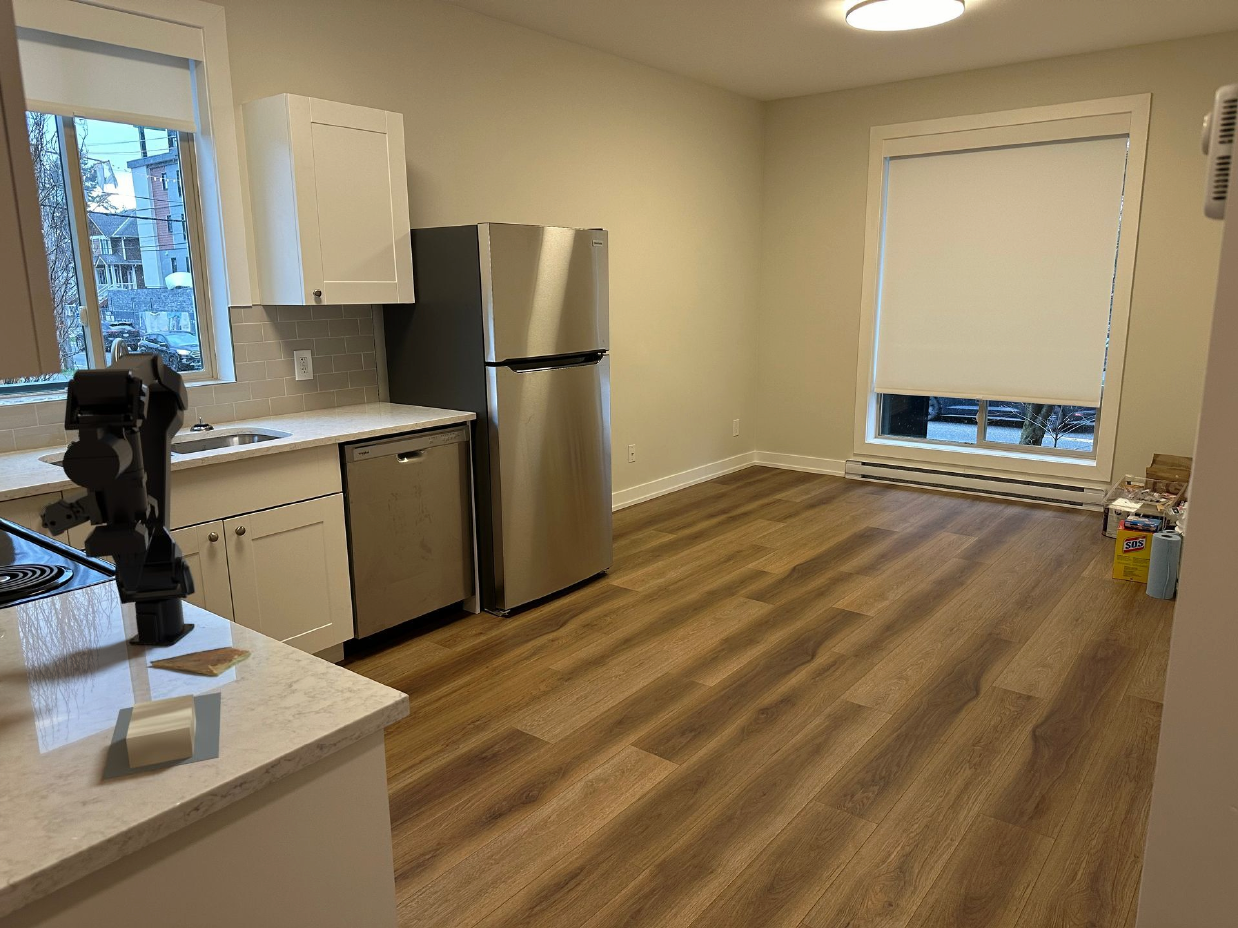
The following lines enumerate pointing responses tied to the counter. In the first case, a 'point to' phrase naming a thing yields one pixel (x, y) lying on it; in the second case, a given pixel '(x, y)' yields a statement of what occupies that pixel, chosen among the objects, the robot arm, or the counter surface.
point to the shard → (206, 660)
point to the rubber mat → (203, 750)
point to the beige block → (161, 731)
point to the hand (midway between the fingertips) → (131, 588)
